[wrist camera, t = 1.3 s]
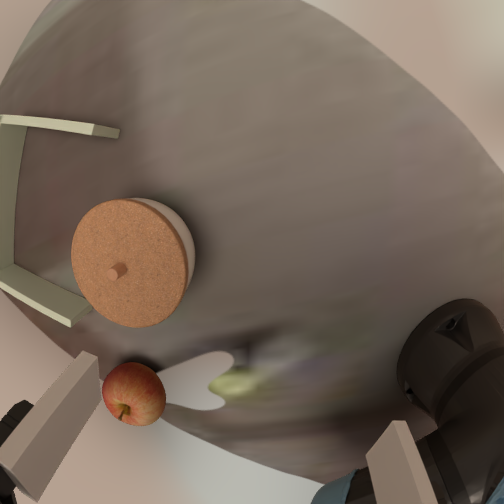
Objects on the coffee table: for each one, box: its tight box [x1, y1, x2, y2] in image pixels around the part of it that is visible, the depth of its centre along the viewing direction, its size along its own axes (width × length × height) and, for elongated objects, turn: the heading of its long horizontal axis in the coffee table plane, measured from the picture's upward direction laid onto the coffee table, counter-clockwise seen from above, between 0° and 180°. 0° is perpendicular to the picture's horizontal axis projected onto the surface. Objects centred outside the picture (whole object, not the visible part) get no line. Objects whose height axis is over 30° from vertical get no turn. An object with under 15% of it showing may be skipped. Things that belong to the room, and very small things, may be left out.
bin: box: [0, 115, 120, 328], centre depth 27 cm, size 16×21×5 cm
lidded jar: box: [71, 198, 195, 327], centre depth 25 cm, size 11×11×9 cm
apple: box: [102, 362, 166, 426], centre depth 30 cm, size 8×8×8 cm
